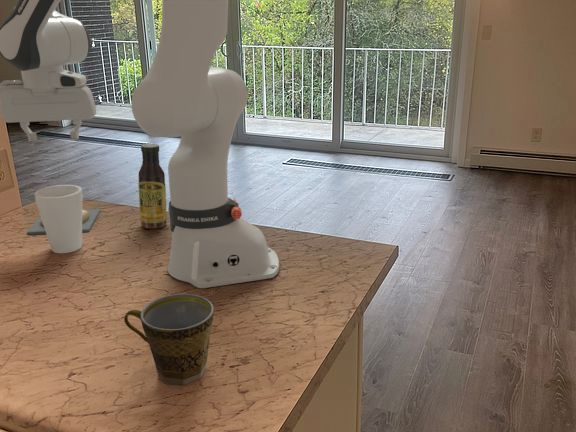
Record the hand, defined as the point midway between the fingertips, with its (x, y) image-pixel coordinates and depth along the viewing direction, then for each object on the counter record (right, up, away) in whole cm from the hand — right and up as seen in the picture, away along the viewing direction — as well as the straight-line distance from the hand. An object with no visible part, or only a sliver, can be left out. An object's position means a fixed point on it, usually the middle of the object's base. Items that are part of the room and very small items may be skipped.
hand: (54, 139), depth 129 cm
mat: (0, -19, +7) cm, 21 cm away
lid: (0, -19, +7) cm, 20 cm away
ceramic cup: (+38, -40, -48) cm, 73 cm away
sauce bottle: (+22, -20, +5) cm, 31 cm away
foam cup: (+6, -25, -7) cm, 26 cm away
